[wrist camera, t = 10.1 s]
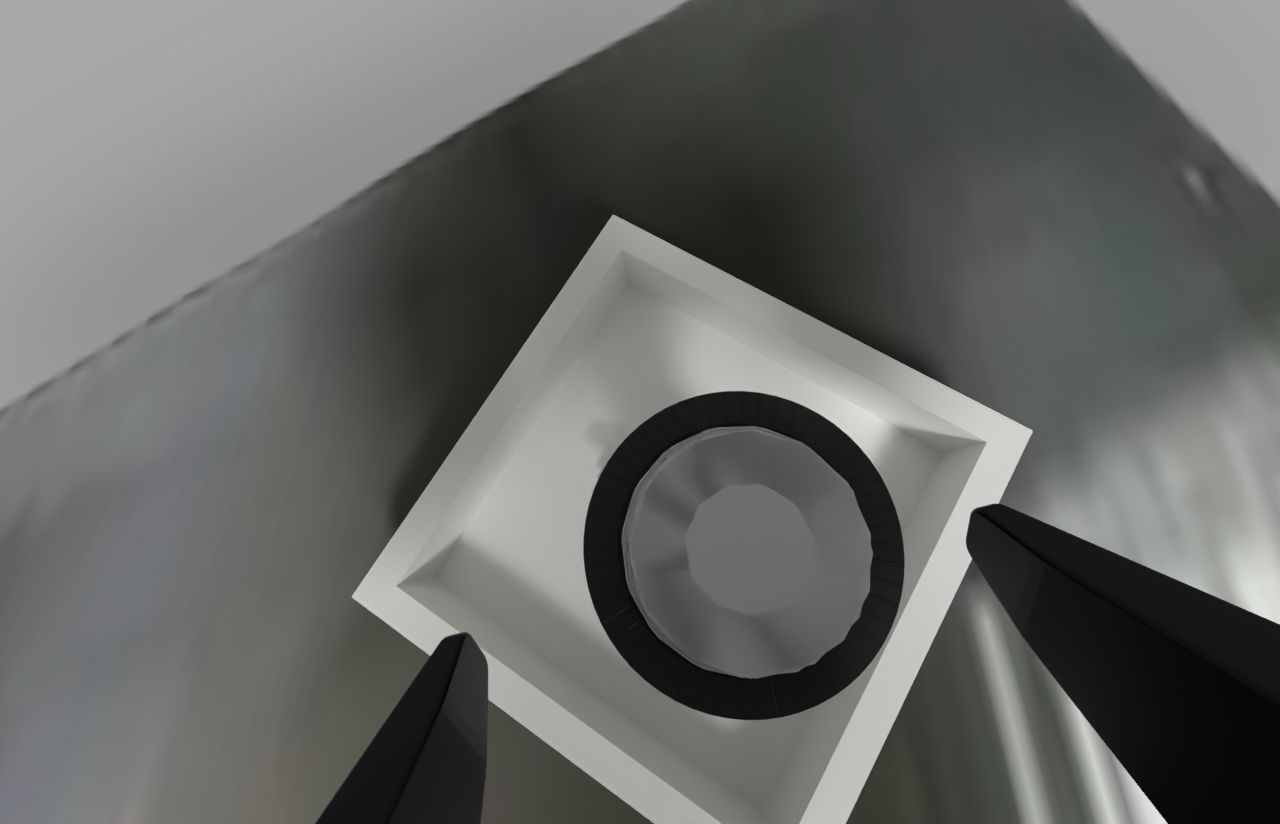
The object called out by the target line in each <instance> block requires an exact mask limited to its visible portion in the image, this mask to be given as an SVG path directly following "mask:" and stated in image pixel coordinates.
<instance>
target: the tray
mask: <svg viewBox="0 0 1280 824" xmlns="http://www.w3.org/2000/svg"><path fill="white" fill-rule="evenodd" d="M724 391H748V392H759V393H764V394H769V395H774V396H778V397H781V398H784V399H787V400H791V401H793V402H796V403H798V404H800V405H803V406H805V407H807V408H809V409H811V410H813V411H815V412H816V413H818V414H820V415H822V416H823V417H825V418H826V419H828V420H829V421H831V422H832V423H834V424H835V425H836V426H837V427H839V428H840V429H841V430H842V431H843V432H845V433H846V434H847V435H848V436H849V437H850V438H851V439H852V440H853V441H854V442H855V443H856V444H857V445H858V446H859V447H860V448H861V449H862V451H863V452H864V453H865V454H866V455H867V457H868V458H869V459H870V460H871V462H872V463H873V465H874V466H875V468H876V469H877V471H878V472H879V474H880V476H881V477H882V479H883V481H884V483H885V485H886V487H887V489H888V491H889V493H890V496H891V498H892V501H893V503H894V506H895V508H896V512H897V515H898V519H899V522H900V526H901V532H902V537H903V544H904V557H905V565H904V582H903V589H902V596H901V600H900V604H899V608H898V612H897V615H896V617H895V620H894V623H893V625H892V628H891V630H890V632H889V634H888V636H887V638H886V640H885V642H884V644H883V646H882V647H881V649H880V650H879V652H878V653H877V655H876V656H875V658H874V659H873V661H872V662H871V663H870V664H869V665H868V667H867V668H866V669H865V670H864V671H863V672H862V674H861V675H860V676H859V677H857V678H856V679H855V680H854V681H853V682H852V683H851V684H850V685H849V686H848V687H846V688H845V689H843V690H842V691H841V692H839V693H838V694H836V695H835V696H834V697H832V698H830V699H828V700H827V701H825V702H823V703H821V704H819V705H818V706H815V707H813V708H810V709H808V710H805V711H803V712H800V713H797V714H793V715H789V716H785V717H781V718H774V719H767V720H738V719H728V718H723V717H718V716H713V715H709V714H706V713H703V712H700V711H697V710H694V709H691V708H689V707H687V706H685V705H683V704H681V703H678V702H676V701H674V700H673V699H671V698H669V697H668V696H666V695H664V694H663V693H661V692H660V691H658V690H657V689H656V688H654V687H653V686H652V685H650V684H649V683H648V682H646V681H645V680H644V679H643V678H642V677H641V676H640V675H639V674H638V673H637V672H636V671H634V670H633V669H632V668H631V667H630V665H629V664H628V663H627V662H626V661H625V660H624V658H623V657H622V656H621V655H620V654H619V652H618V651H617V649H616V648H615V646H614V645H613V644H612V642H611V641H610V639H609V637H608V636H607V634H606V632H605V630H604V628H603V627H602V625H601V623H600V620H599V618H598V616H597V613H596V611H595V609H594V606H593V603H592V600H591V596H590V593H589V590H588V585H587V580H586V575H585V567H584V557H583V538H584V529H585V520H586V516H587V511H588V506H589V503H590V500H591V497H592V494H593V490H594V488H595V486H596V483H597V481H598V478H597V476H598V474H599V472H600V471H601V469H602V468H603V466H604V465H605V463H606V462H607V460H609V459H610V458H611V456H612V455H613V453H614V452H615V451H616V449H617V448H618V447H619V446H620V444H621V443H622V442H623V441H624V440H625V439H626V438H627V437H628V435H630V434H631V433H632V432H633V431H634V430H635V429H636V428H637V427H638V426H639V425H641V424H642V423H643V422H645V421H646V420H648V419H649V418H650V417H652V416H653V415H655V414H656V413H658V412H660V411H662V410H663V409H665V408H667V407H669V406H671V405H673V404H676V403H678V402H680V401H683V400H686V399H689V398H692V397H695V396H699V395H704V394H709V393H715V392H724ZM1032 432H1033V431H1032V430H1030V429H1028V428H1026V427H1025V426H1023V425H1021V424H1019V423H1017V422H1015V421H1013V420H1011V419H1009V418H1007V417H1005V416H1003V415H1001V414H999V413H997V412H995V411H994V410H992V409H990V408H988V407H986V406H984V405H982V404H980V403H978V402H976V401H974V400H972V399H970V398H968V397H966V396H964V395H962V394H961V393H959V392H957V391H955V390H953V389H951V388H949V387H947V386H945V385H943V384H941V383H939V382H937V381H935V380H933V379H931V378H929V377H928V376H926V375H924V374H922V373H920V372H918V371H916V370H914V369H912V368H910V367H908V366H906V365H904V364H902V363H900V362H898V361H897V360H895V359H893V358H891V357H889V356H887V355H885V354H883V353H881V352H879V351H877V350H875V349H873V348H871V347H869V346H867V345H865V344H864V343H862V342H860V341H858V340H856V339H854V338H852V337H850V336H848V335H846V334H844V333H842V332H840V331H838V330H836V329H834V328H833V327H831V326H829V325H827V324H825V323H823V322H821V321H819V320H817V319H815V318H813V317H811V316H809V315H807V314H805V313H803V312H801V311H800V310H798V309H796V308H794V307H792V306H790V305H788V304H786V303H784V302H782V301H780V300H778V299H776V298H774V297H772V296H770V295H768V294H767V293H765V292H763V291H761V290H759V289H757V288H755V287H753V286H751V285H749V284H747V283H745V282H743V281H741V280H739V279H737V278H736V277H734V276H732V275H730V274H728V273H726V272H724V271H722V270H720V269H718V268H716V267H714V266H712V265H710V264H708V263H706V262H704V261H703V260H701V259H699V258H697V257H695V256H693V255H691V254H689V253H687V252H685V251H683V250H681V249H679V248H677V247H675V246H673V245H671V244H670V243H668V242H666V241H664V240H662V239H660V238H658V237H656V236H654V235H652V234H650V233H648V232H646V231H644V230H642V229H640V228H639V227H637V226H635V225H633V224H631V223H629V222H627V221H625V220H623V219H621V218H619V217H617V216H615V215H612V216H611V218H610V219H609V221H608V222H607V224H606V225H605V227H604V228H603V230H602V231H601V233H600V234H599V235H598V237H597V238H596V240H595V241H594V243H593V244H592V246H591V247H590V249H589V250H588V252H587V253H586V254H585V256H584V257H583V259H582V260H581V262H580V263H579V265H578V266H577V268H576V269H575V271H574V272H573V274H572V275H571V276H570V278H569V279H568V281H567V282H566V284H565V285H564V287H563V288H562V290H561V291H560V293H559V294H558V295H557V297H556V298H555V300H554V301H553V303H552V304H551V306H550V307H549V309H548V310H547V312H546V313H545V314H544V316H543V317H542V319H541V320H540V322H539V323H538V325H537V326H536V328H535V329H534V331H533V332H532V334H531V335H530V336H529V338H528V339H527V341H526V342H525V344H524V345H523V347H522V348H521V350H520V351H519V353H518V354H517V355H516V357H515V358H514V360H513V361H512V363H511V364H510V366H509V367H508V369H507V370H506V372H505V373H504V375H503V376H502V377H501V379H500V380H499V382H498V383H497V385H496V386H495V388H494V389H493V391H492V392H491V394H490V395H489V396H488V398H487V399H486V401H485V402H484V404H483V405H482V407H481V408H480V410H479V411H478V413H477V414H476V415H475V417H474V418H473V420H472V421H471V423H470V424H469V426H468V427H467V429H466V430H465V432H464V433H463V435H462V436H461V437H460V439H459V440H458V442H457V443H456V445H455V446H454V448H453V449H452V451H451V452H450V454H449V455H448V456H447V458H446V459H445V461H444V462H443V464H442V465H441V467H440V468H439V470H438V471H437V473H436V474H435V476H434V477H433V478H432V480H431V481H430V483H429V484H428V486H427V487H426V489H425V490H424V492H423V493H422V495H421V496H420V497H419V499H418V500H417V502H416V503H415V505H414V506H413V508H412V509H411V511H410V512H409V514H408V515H407V516H406V518H405V519H404V521H403V522H402V524H401V525H400V527H399V528H398V530H397V531H396V533H395V534H394V536H393V537H392V538H391V540H390V541H389V543H388V544H387V546H386V547H385V549H384V550H383V552H382V553H381V555H380V556H379V557H378V559H377V560H376V562H375V563H374V565H373V566H372V568H371V569H370V571H369V572H368V574H367V575H366V577H365V578H364V579H363V581H362V582H361V584H360V585H359V587H358V588H357V590H356V591H355V593H354V594H353V596H352V598H354V599H355V600H356V601H358V602H359V603H360V604H362V605H363V606H364V607H366V608H367V609H368V610H370V611H371V612H372V613H374V614H375V615H376V616H378V617H379V618H380V619H382V620H383V621H384V622H386V623H387V624H388V625H390V626H391V627H392V628H394V629H395V630H396V631H398V632H399V633H400V634H402V635H403V636H404V637H406V638H407V639H408V640H410V641H411V642H412V643H414V644H415V645H416V646H418V647H419V648H420V649H422V650H423V651H424V652H426V653H427V654H428V655H430V656H431V655H432V653H433V652H434V650H435V649H436V647H437V646H438V644H439V643H440V642H441V640H442V639H444V638H445V637H447V636H449V635H453V634H457V633H462V632H467V633H469V634H471V636H472V637H473V639H474V640H475V642H476V643H477V645H478V646H479V648H480V649H481V651H482V652H483V654H484V655H485V657H486V660H487V664H488V700H490V701H491V702H492V703H494V704H495V705H496V706H498V707H499V708H500V709H502V710H503V711H504V712H506V713H507V714H508V715H510V716H511V717H512V718H514V719H515V720H516V721H518V722H519V723H520V724H522V725H523V726H525V727H526V728H527V729H529V730H530V731H531V732H533V733H534V734H535V735H537V736H538V737H539V738H541V739H542V740H543V741H545V742H546V743H547V744H549V745H550V746H551V747H553V748H554V749H555V750H557V751H558V752H559V753H561V754H562V755H563V756H565V757H566V758H567V759H569V760H570V761H571V762H573V763H574V764H575V765H577V766H578V767H579V768H581V769H582V770H583V771H585V772H586V773H587V774H589V775H590V776H591V777H593V778H594V779H595V780H597V781H598V782H599V783H601V784H602V785H603V786H605V787H606V788H607V789H609V790H610V791H611V792H613V793H614V794H615V795H617V796H618V797H619V798H621V799H622V800H623V801H625V802H626V803H627V804H629V805H630V806H631V807H633V808H634V809H635V810H637V811H638V812H639V813H641V814H642V815H643V816H645V817H646V818H647V819H649V820H650V821H651V822H653V823H654V824H846V822H847V820H848V818H849V816H850V813H851V811H852V809H853V807H854V805H855V803H856V801H857V799H858V797H859V795H860V792H861V790H862V788H863V786H864V784H865V782H866V780H867V778H868V776H869V774H870V771H871V769H872V767H873V765H874V763H875V761H876V759H877V757H878V755H879V753H880V751H881V748H882V746H883V744H884V742H885V740H886V738H887V736H888V734H889V732H890V730H891V727H892V725H893V723H894V721H895V719H896V717H897V715H898V713H899V711H900V709H901V706H902V704H903V702H904V700H905V698H906V696H907V694H908V692H909V690H910V688H911V686H912V683H913V681H914V679H915V677H916V675H917V673H918V671H919V669H920V667H921V665H922V662H923V660H924V658H925V656H926V654H927V652H928V650H929V648H930V646H931V644H932V642H933V639H934V637H935V635H936V633H937V631H938V629H939V627H940V625H941V623H942V621H943V618H944V616H945V614H946V612H947V610H948V608H949V606H950V604H951V602H952V600H953V597H954V595H955V593H956V591H957V589H958V587H959V585H960V583H961V581H962V579H963V577H964V574H965V572H966V570H967V568H968V566H969V564H970V562H971V560H972V558H971V556H970V554H969V552H968V550H967V547H966V535H967V530H968V525H969V519H970V514H971V512H972V511H973V510H974V509H975V508H977V507H981V506H986V505H990V504H998V503H999V501H1000V499H1001V497H1002V495H1003V493H1004V491H1005V488H1006V486H1007V484H1008V482H1009V480H1010V478H1011V476H1012V474H1013V472H1014V470H1015V467H1016V465H1017V463H1018V461H1019V459H1020V457H1021V455H1022V453H1023V451H1024V449H1025V447H1026V444H1027V442H1028V440H1029V438H1030V436H1031V434H1032Z"/></svg>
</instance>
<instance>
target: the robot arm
mask: <svg viewBox="0 0 1280 824" xmlns="http://www.w3.org/2000/svg"><path fill="white" fill-rule="evenodd" d="M966 547H967V550H968V552H969V554H970V556H971V558H972V559H973V561H974V562H975V564H976V565H977V567H978V569H979V570H980V572H981V573H982V575H983V576H984V578H985V580H986V581H987V583H988V584H989V586H990V587H991V589H992V590H993V592H994V594H995V595H996V597H997V598H998V600H999V601H1000V603H1001V605H1002V606H1003V608H1004V609H1005V611H1006V612H1007V614H1008V616H1009V617H1010V619H1011V620H1012V622H1013V623H1014V625H1015V626H1016V628H1017V629H1018V631H1019V632H1020V634H1021V635H1022V637H1023V638H1024V639H1025V641H1026V642H1027V643H1028V645H1029V646H1030V647H1031V649H1032V650H1033V651H1034V653H1035V654H1036V655H1037V656H1038V658H1039V659H1040V660H1041V662H1042V663H1043V664H1044V665H1045V667H1046V668H1047V669H1048V670H1049V672H1050V673H1051V674H1052V676H1053V677H1054V678H1055V679H1056V681H1057V682H1058V683H1059V685H1060V686H1061V687H1062V688H1063V690H1064V691H1065V692H1066V694H1067V695H1068V696H1069V697H1070V699H1071V700H1072V701H1073V703H1074V704H1075V705H1076V706H1077V708H1078V709H1079V710H1080V711H1081V713H1082V714H1083V715H1084V717H1085V718H1086V719H1087V720H1088V722H1089V723H1090V724H1091V726H1092V727H1093V728H1094V729H1095V731H1096V732H1097V733H1098V735H1099V736H1100V737H1101V738H1102V740H1103V741H1104V742H1105V744H1106V745H1107V746H1108V747H1109V749H1110V750H1111V751H1112V752H1113V754H1114V755H1115V756H1116V758H1117V759H1118V760H1119V761H1120V763H1121V764H1122V765H1123V767H1124V768H1125V769H1126V770H1127V772H1128V773H1129V774H1130V776H1131V777H1132V778H1133V779H1134V781H1135V782H1136V783H1137V785H1138V786H1139V787H1140V788H1141V790H1142V791H1143V792H1144V793H1145V795H1146V796H1147V797H1148V799H1149V800H1150V801H1151V802H1152V804H1153V805H1154V806H1155V808H1156V809H1157V810H1158V811H1159V813H1160V814H1161V815H1162V817H1163V818H1164V819H1165V820H1166V822H1167V823H1168V824H1280V625H1279V624H1277V623H1275V622H1272V621H1270V620H1268V619H1265V618H1263V617H1261V616H1259V615H1256V614H1254V613H1252V612H1249V611H1247V610H1245V609H1242V608H1240V607H1238V606H1235V605H1233V604H1231V603H1229V602H1226V601H1224V600H1222V599H1219V598H1217V597H1215V596H1212V595H1210V594H1208V593H1206V592H1203V591H1201V590H1199V589H1196V588H1194V587H1192V586H1189V585H1187V584H1185V583H1182V582H1180V581H1178V580H1176V579H1173V578H1171V577H1169V576H1166V575H1164V574H1162V573H1159V572H1157V571H1155V570H1152V569H1150V568H1148V567H1146V566H1143V565H1141V564H1139V563H1136V562H1134V561H1132V560H1129V559H1127V558H1125V557H1122V556H1120V555H1118V554H1116V553H1113V552H1111V551H1109V550H1106V549H1104V548H1102V547H1099V546H1097V545H1095V544H1092V543H1090V542H1088V541H1086V540H1083V539H1081V538H1079V537H1076V536H1074V535H1072V534H1069V533H1067V532H1065V531H1063V530H1060V529H1058V528H1056V527H1053V526H1051V525H1049V524H1046V523H1044V522H1042V521H1039V520H1037V519H1035V518H1033V517H1030V516H1028V515H1026V514H1023V513H1021V512H1019V511H1016V510H1014V509H1012V508H1009V507H1007V506H1005V505H1002V504H990V505H986V506H981V507H977V508H975V509H974V510H973V511H972V512H971V514H970V519H969V525H968V530H967V535H966ZM487 735H488V664H487V660H486V657H485V655H484V654H483V652H482V651H481V649H480V648H479V646H478V645H477V643H476V642H475V640H474V639H473V637H472V636H471V634H469V633H467V632H462V633H457V634H453V635H449V636H447V637H445V638H444V639H442V640H441V642H440V643H439V644H438V646H437V647H436V649H435V650H434V652H433V653H432V655H431V656H430V657H429V659H428V660H427V662H426V663H425V665H424V666H423V668H422V669H421V671H420V672H419V673H418V675H417V676H416V678H415V679H414V681H413V682H412V684H411V685H410V687H409V688H408V689H407V691H406V692H405V694H404V695H403V697H402V698H401V700H400V701H399V703H398V704H397V705H396V707H395V708H394V710H393V711H392V713H391V714H390V716H389V717H388V718H387V720H386V721H385V723H384V724H383V726H382V727H381V729H380V730H379V732H378V733H377V734H376V736H375V737H374V739H373V740H372V742H371V743H370V745H369V746H368V748H367V749H366V750H365V752H364V753H363V755H362V756H361V758H360V759H359V761H358V762H357V764H356V765H355V766H354V768H353V769H352V771H351V772H350V774H349V775H348V777H347V778H346V780H345V781H344V782H343V784H342V785H341V787H340V788H339V790H338V791H337V793H336V794H335V796H334V797H333V798H332V800H331V801H330V803H329V804H328V806H327V807H326V809H325V810H324V812H323V813H322V814H321V816H320V817H319V819H318V820H317V822H316V823H315V824H480V823H481V814H482V805H483V796H484V787H485V778H486V767H487Z"/></svg>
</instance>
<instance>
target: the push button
mask: <svg viewBox="0 0 1280 824" xmlns="http://www.w3.org/2000/svg"><path fill="white" fill-rule="evenodd" d="M597 478H598V481H597V483H596V486H595V488H594V490H593V494H592V497H591V500H590V503H589V506H588V511H587V516H586V520H585V529H584V538H583V557H584V567H585V575H586V580H587V585H588V590H589V593H590V596H591V600H592V603H593V606H594V609H595V611H596V613H597V616H598V618H599V620H600V623H601V625H602V627H603V628H604V630H605V632H606V634H607V636H608V637H609V639H610V641H611V642H612V644H613V645H614V646H615V648H616V649H617V651H618V652H619V654H620V655H621V656H622V657H623V658H624V660H625V661H626V662H627V663H628V664H629V665H630V667H631V668H632V669H633V670H634V671H636V672H637V673H638V674H639V675H640V676H641V677H642V678H643V679H644V680H645V681H646V682H648V683H649V684H650V685H652V686H653V687H654V688H656V689H657V690H658V691H660V692H661V693H663V694H664V695H666V696H668V697H669V698H671V699H673V700H674V701H676V702H678V703H681V704H683V705H685V706H687V707H689V708H691V709H694V710H697V711H700V712H703V713H706V714H709V715H713V716H718V717H723V718H728V719H738V720H767V719H774V718H781V717H785V716H789V715H793V714H797V713H800V712H803V711H805V710H808V709H810V708H813V707H815V706H818V705H819V704H821V703H823V702H825V701H827V700H828V699H830V698H832V697H834V696H835V695H836V694H838V693H839V692H841V691H842V690H843V689H845V688H846V687H848V686H849V685H850V684H851V683H852V682H853V681H854V680H855V679H856V678H857V677H859V676H860V675H861V674H862V672H863V671H864V670H865V669H866V668H867V667H868V665H869V664H870V663H871V662H872V661H873V659H874V658H875V656H876V655H877V653H878V652H879V650H880V649H881V647H882V646H883V644H884V642H885V640H886V638H887V636H888V634H889V632H890V630H891V628H892V625H893V623H894V620H895V617H896V615H897V612H898V608H899V604H900V600H901V596H902V589H903V582H904V565H905V557H904V544H903V537H902V532H901V526H900V522H899V519H898V515H897V512H896V508H895V506H894V503H893V501H892V498H891V496H890V493H889V491H888V489H887V487H886V485H885V483H884V481H883V479H882V477H881V476H880V474H879V472H878V471H877V469H876V468H875V466H874V465H873V463H872V462H871V460H870V459H869V458H868V457H867V455H866V454H865V453H864V452H863V451H862V449H861V448H860V447H859V446H858V445H857V444H856V443H855V442H854V441H853V440H852V439H851V438H850V437H849V436H848V435H847V434H846V433H845V432H843V431H842V430H841V429H840V428H839V427H837V426H836V425H835V424H834V423H832V422H831V421H829V420H828V419H826V418H825V417H823V416H822V415H820V414H818V413H816V412H815V411H813V410H811V409H809V408H807V407H805V406H803V405H800V404H798V403H796V402H793V401H791V400H787V399H784V398H781V397H778V396H774V395H769V394H764V393H759V392H748V391H724V392H715V393H709V394H704V395H699V396H695V397H692V398H689V399H686V400H683V401H680V402H678V403H676V404H673V405H671V406H669V407H667V408H665V409H663V410H662V411H660V412H658V413H656V414H655V415H653V416H652V417H650V418H649V419H648V420H646V421H645V422H643V423H642V424H641V425H639V426H638V427H637V428H636V429H635V430H634V431H633V432H632V433H631V434H630V435H628V437H627V438H626V439H625V440H624V441H623V442H622V443H621V444H620V446H619V447H618V448H617V449H616V451H615V452H614V453H613V455H612V456H611V458H610V459H609V460H607V462H606V463H605V465H604V466H603V468H602V469H601V471H600V472H599V474H598V476H597Z"/></svg>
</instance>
